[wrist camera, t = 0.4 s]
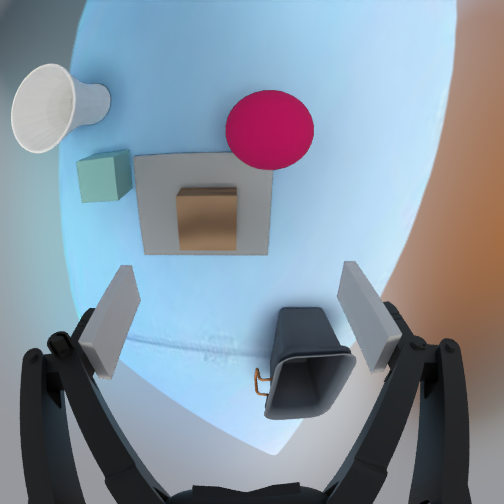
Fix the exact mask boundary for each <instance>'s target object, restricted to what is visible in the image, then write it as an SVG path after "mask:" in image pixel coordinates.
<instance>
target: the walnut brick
mask: <svg viewBox="0 0 504 504" xmlns="http://www.w3.org/2000/svg"><path fill="white" fill-rule="evenodd" d="M176 208H177V221H178V233H179V244H180V250H211V251H236V231H237V187H208V188H181V189H180V191H179V192H178V194H177V195H176Z"/></svg>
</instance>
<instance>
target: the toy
mask: <svg viewBox="0 0 504 504" xmlns="http://www.w3.org/2000/svg"><path fill="white" fill-rule="evenodd" d="M313 136H314V124H313V121H312V117H311V115H310V113H309V111H308V109H307V108H306V107H305V106H304V104H303V103H302V102H301V101H299V100H298V99H297V98H295V97H294V96H292V95H290V94H287V93H285V92H282V91H276V90H263V91H259V92H255V93H252V94H250V95H248V96H246V97H244V98H243V99H242V100H240V101H239V102H238V103H237V104H236V105H235V106H234V107H233V109H232V110H231V111H230V114H229V116H228V118H227V122H226V139H227V142H228V145H229V147H230V149H231V151H232V152H233V153H234V155H235V156H236V157H237V158H238V159H239V160H241V161H242V162H244V163H245V164H247V165H249V166H251V167H254V168H257V169H262V170H277V169H281V168H285V167H288V166H290V165H292V164H294V163H296V162H297V161H298V160H300V159H301V158H302V157H303V156H304V155H305V154H306V152H307V151H308V149H309V147H310V145H311V143H312V140H313Z"/></svg>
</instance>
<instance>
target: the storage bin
mask: <svg viewBox="0 0 504 504" xmlns="http://www.w3.org/2000/svg"><path fill="white" fill-rule="evenodd" d="M355 364H356V357H355V356H354V355H352V354H351V351H350V349H349V348H348V347H346V346H341V345H340V343H339V341H338V339H337V337H336V335H335V333H334V331H333V329H332V327H331V325H330V323H329V321H328V319H327V317H326V315H325V313H324V311H323V310H322V309H320V308H303V309H300V308H291V309H287V308H286V309H282V310H281V311H280V313H279V318H278V324H277V330H276V335H275V341H274V346H273V351H272V355H271V360H270V378H267V379H262V378H261V377H260V373H259V369H258V368H256V370H255V376H254V380H255V391H256V393H257V394H258V395H262V396H267V399H266V403H265V412H264V416H265V417H266V418H268V419H272V420H285V419H299V418H311V417H316V416H319V415H322V414H324V413H325V412H327V411H328V410H329V409H330V408H331V406H332V404H333V403H334V401H335V400H336V398H337V397H338V395H339V393H340V392H341V390H342V388H343V387H344V385H345V383H346V381H347V380H348V378H349V376H350V374H351V372H352V370H353V368H354V366H355ZM257 376H258V379H259V380H260V381H270V392H269V394H265V393H259V391H258V385H257Z"/></svg>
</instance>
